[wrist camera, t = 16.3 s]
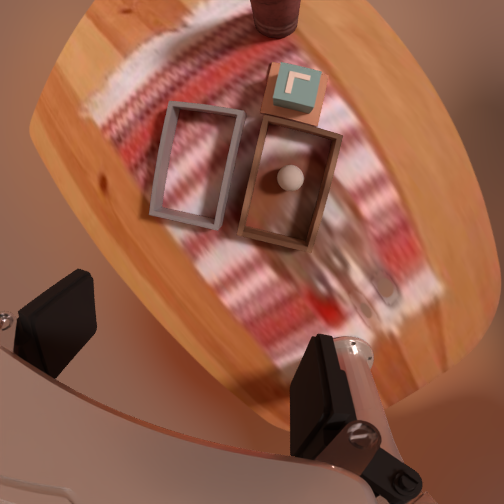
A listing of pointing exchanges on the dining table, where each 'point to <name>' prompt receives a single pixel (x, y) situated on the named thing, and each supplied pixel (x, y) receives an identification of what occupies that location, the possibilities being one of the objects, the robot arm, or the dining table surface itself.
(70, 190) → the dining table surface
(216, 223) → the bin grey
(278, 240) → the bin walnut
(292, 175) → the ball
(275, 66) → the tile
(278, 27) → the can
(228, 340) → the dining table surface
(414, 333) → the dining table surface
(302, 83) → the letter cube
